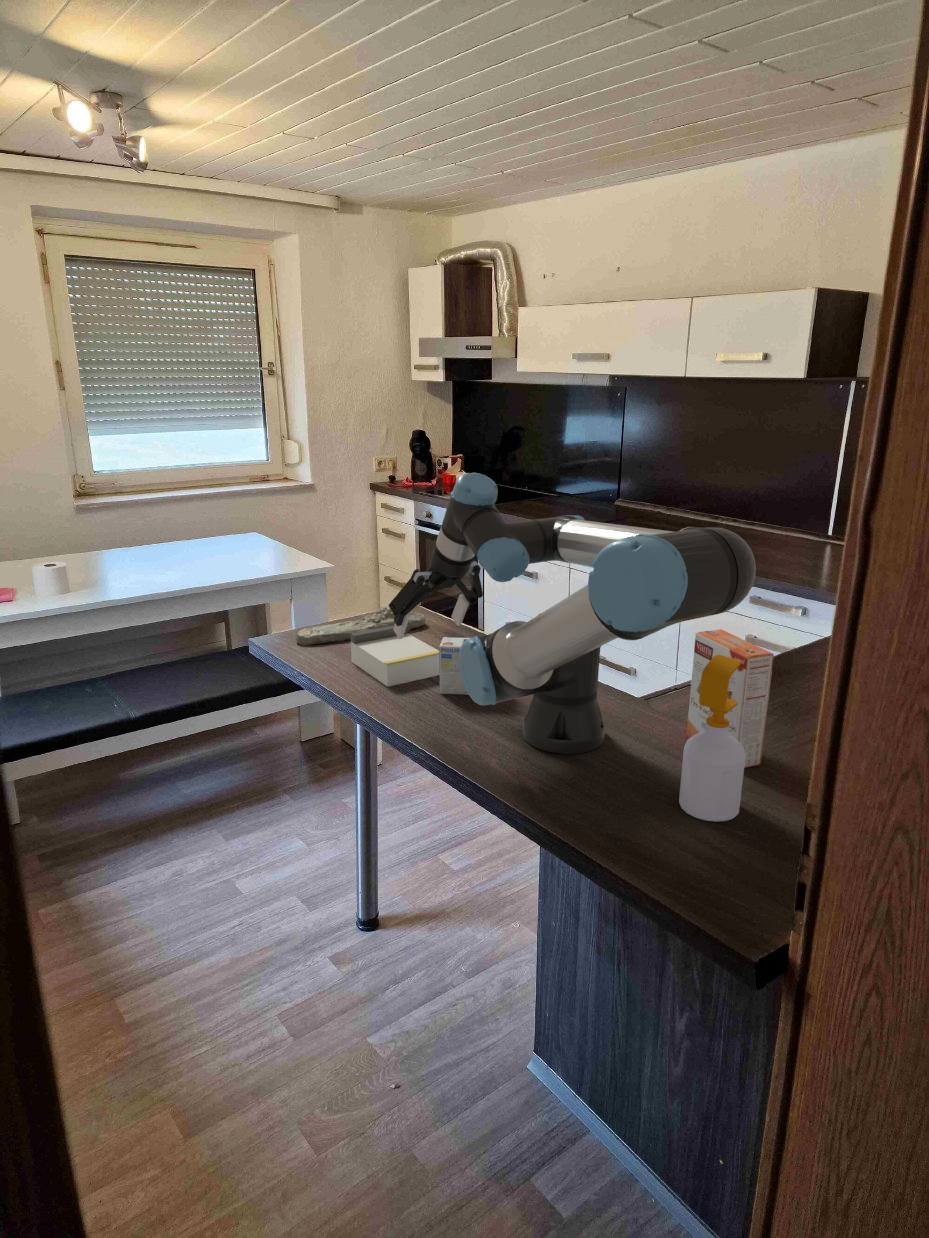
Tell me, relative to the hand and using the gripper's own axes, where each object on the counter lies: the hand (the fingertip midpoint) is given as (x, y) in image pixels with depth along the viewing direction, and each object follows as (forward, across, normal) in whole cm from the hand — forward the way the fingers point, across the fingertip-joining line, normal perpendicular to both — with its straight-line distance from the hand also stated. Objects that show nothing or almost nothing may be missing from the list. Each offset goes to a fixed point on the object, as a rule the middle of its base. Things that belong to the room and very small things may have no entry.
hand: (427, 627), depth 162 cm
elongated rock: (+38, -8, -31) cm, 50 cm away
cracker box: (-11, -31, +51) cm, 60 cm away
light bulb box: (+14, -9, +8) cm, 18 cm away
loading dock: (+23, -3, -8) cm, 25 cm away
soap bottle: (-18, -14, +60) cm, 65 cm away
